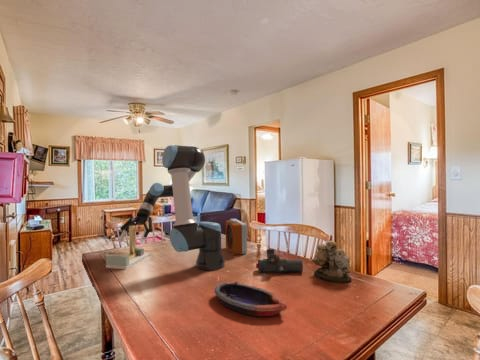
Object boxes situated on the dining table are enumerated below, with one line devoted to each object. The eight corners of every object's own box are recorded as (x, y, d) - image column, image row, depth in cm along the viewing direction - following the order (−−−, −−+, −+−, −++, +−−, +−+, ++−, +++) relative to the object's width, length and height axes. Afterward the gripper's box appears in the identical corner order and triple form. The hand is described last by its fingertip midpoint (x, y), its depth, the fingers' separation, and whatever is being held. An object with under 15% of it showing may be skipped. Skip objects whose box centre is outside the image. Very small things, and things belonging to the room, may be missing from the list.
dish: (231, 288, 116) (230, 276, 116) (295, 311, 96) (295, 297, 96) (204, 301, 104) (203, 288, 104) (271, 330, 84) (270, 314, 84)
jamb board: (131, 255, 165) (130, 244, 165) (149, 256, 162) (148, 245, 162) (106, 267, 143) (105, 255, 143) (126, 269, 141) (126, 256, 141)
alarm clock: (225, 247, 180) (225, 216, 179) (238, 246, 182) (237, 216, 182) (233, 255, 162) (232, 221, 162) (247, 254, 165) (246, 220, 164)
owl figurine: (307, 277, 127) (307, 240, 127) (317, 270, 137) (316, 236, 137) (347, 286, 117) (347, 246, 117) (354, 277, 126) (354, 241, 126)
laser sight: (303, 275, 130) (303, 254, 130) (256, 275, 130) (256, 254, 130) (299, 268, 140) (299, 249, 139) (255, 268, 140) (255, 249, 140)
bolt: (136, 253, 163) (136, 223, 162) (141, 253, 162) (140, 223, 162) (124, 259, 151) (123, 227, 151) (129, 260, 150) (128, 227, 150)
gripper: (165, 215, 169) (153, 245, 155) (129, 214, 175) (114, 243, 160) (161, 208, 164) (147, 238, 150) (124, 207, 169) (108, 236, 155)
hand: (130, 241), depth 155 cm, fingers open, 13 cm apart
